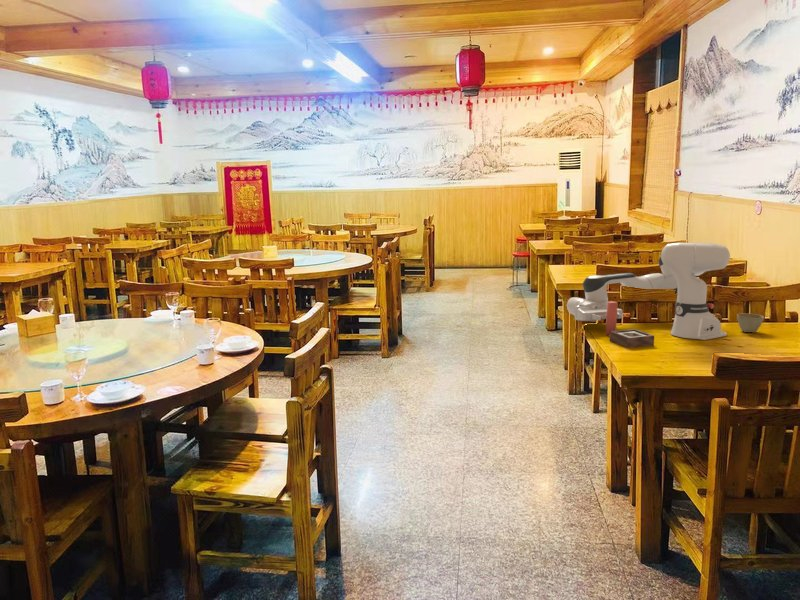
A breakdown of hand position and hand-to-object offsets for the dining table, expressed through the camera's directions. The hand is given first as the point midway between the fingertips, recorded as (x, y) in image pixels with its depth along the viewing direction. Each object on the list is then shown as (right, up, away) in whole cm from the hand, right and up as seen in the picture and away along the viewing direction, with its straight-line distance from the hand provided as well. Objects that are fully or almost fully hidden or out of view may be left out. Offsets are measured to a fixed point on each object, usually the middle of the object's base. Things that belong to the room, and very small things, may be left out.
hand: (610, 317), depth 268 cm
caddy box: (+4, -10, -13) cm, 17 cm away
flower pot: (+60, -6, +3) cm, 61 cm away
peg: (0, -7, +1) cm, 7 cm away
